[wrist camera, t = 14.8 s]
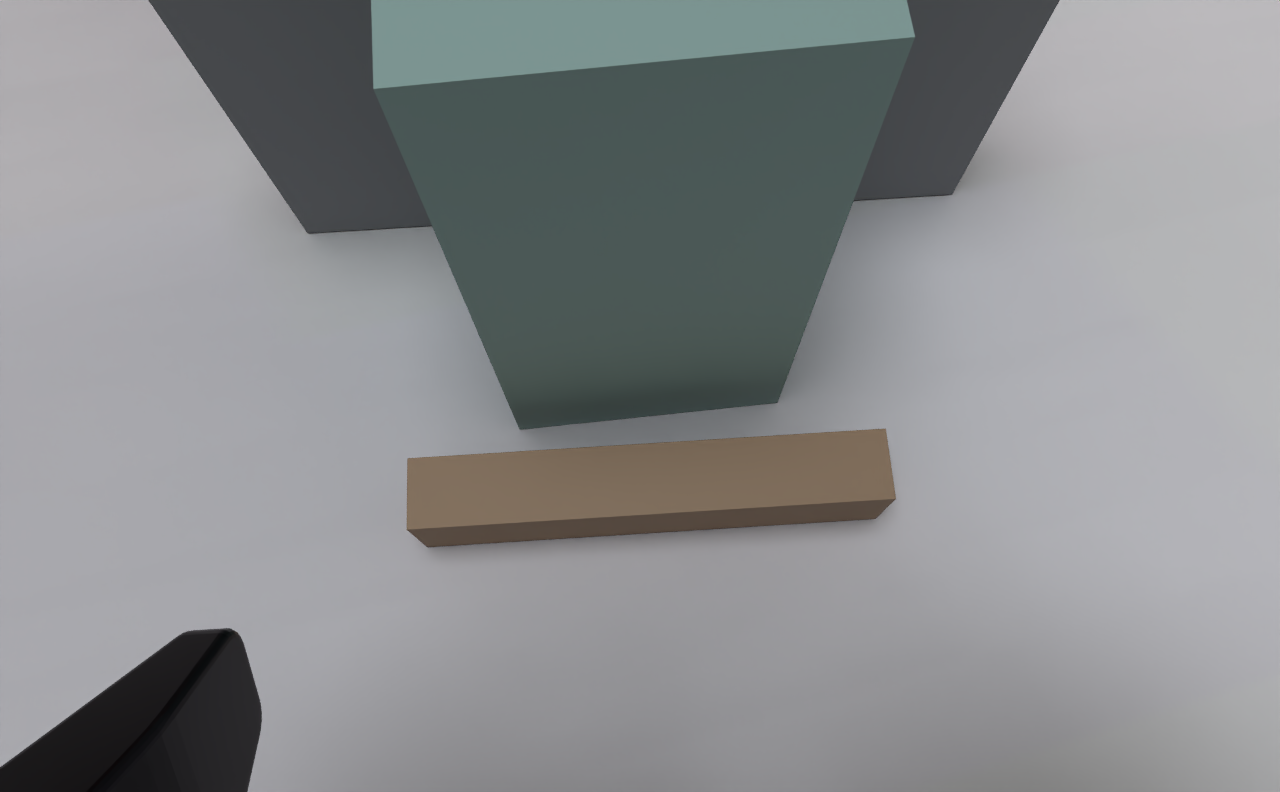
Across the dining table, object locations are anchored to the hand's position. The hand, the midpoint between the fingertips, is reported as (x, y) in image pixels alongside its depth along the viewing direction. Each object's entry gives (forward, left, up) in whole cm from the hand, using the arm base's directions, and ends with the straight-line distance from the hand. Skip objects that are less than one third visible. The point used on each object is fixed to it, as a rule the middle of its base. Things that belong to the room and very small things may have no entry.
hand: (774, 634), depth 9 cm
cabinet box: (+9, +2, -14) cm, 16 cm away
